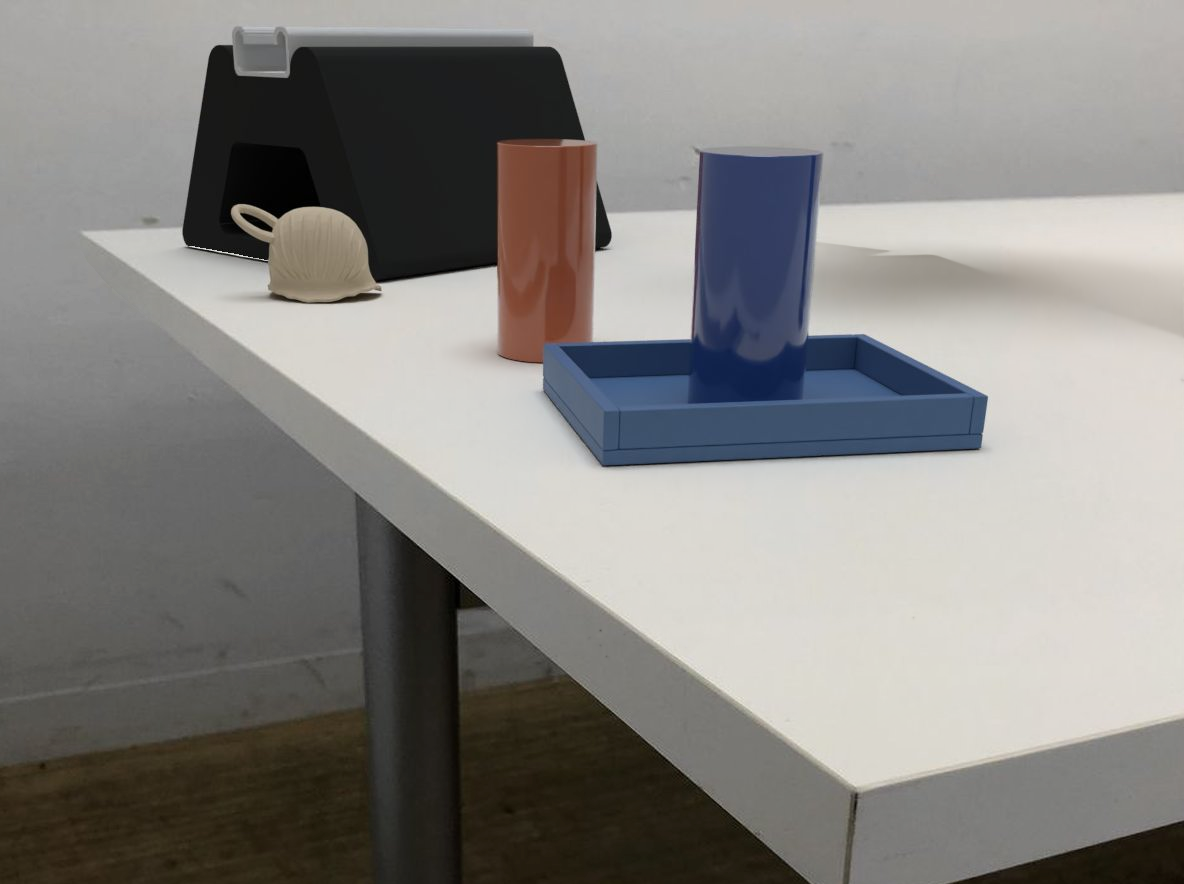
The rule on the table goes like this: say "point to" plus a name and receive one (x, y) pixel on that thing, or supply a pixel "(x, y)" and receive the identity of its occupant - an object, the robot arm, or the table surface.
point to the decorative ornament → (312, 253)
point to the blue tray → (758, 404)
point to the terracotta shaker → (545, 244)
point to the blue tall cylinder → (753, 273)
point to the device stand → (373, 136)
